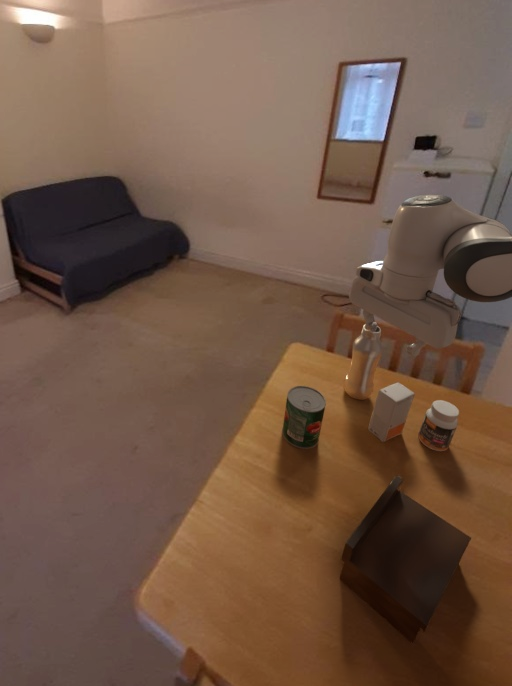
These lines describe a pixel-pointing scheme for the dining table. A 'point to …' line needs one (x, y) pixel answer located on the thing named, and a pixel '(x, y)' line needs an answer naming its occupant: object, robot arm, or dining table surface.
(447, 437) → the pill bottle
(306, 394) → the canned tomato
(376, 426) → the cosmetic box
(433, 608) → the dark brown plinth
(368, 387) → the plastic bottle
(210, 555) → the dining table surface
